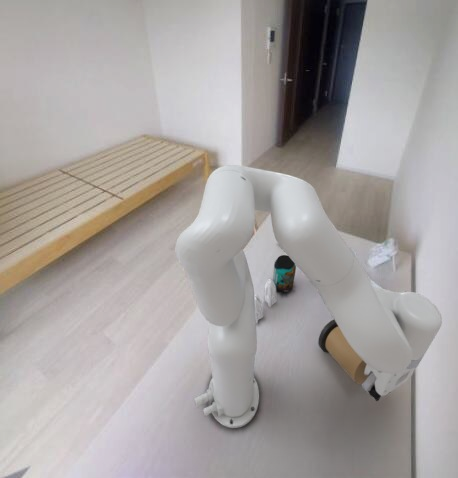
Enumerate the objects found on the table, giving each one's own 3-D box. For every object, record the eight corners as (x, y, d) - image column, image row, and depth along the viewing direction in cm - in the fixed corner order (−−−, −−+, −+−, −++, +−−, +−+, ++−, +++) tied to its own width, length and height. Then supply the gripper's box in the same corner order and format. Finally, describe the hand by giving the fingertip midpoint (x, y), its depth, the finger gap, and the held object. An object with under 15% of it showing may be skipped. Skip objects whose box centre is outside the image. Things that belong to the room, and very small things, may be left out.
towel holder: (370, 418, 59) (372, 385, 57) (318, 356, 74) (317, 327, 71) (401, 395, 63) (404, 363, 60) (345, 340, 78) (346, 312, 75)
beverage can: (291, 297, 90) (295, 272, 84) (270, 291, 92) (273, 267, 87) (294, 280, 96) (297, 256, 90) (274, 275, 98) (276, 251, 92)
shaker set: (270, 291, 92) (272, 268, 87) (280, 299, 90) (283, 276, 84) (246, 315, 85) (247, 291, 80) (256, 324, 82) (258, 301, 77)
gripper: (387, 384, 48) (364, 428, 57) (445, 345, 54) (416, 390, 62) (354, 344, 54) (338, 389, 63) (409, 312, 60) (388, 358, 69)
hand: (377, 389), depth 63 cm, fingers closed on towel holder, 2 cm apart
